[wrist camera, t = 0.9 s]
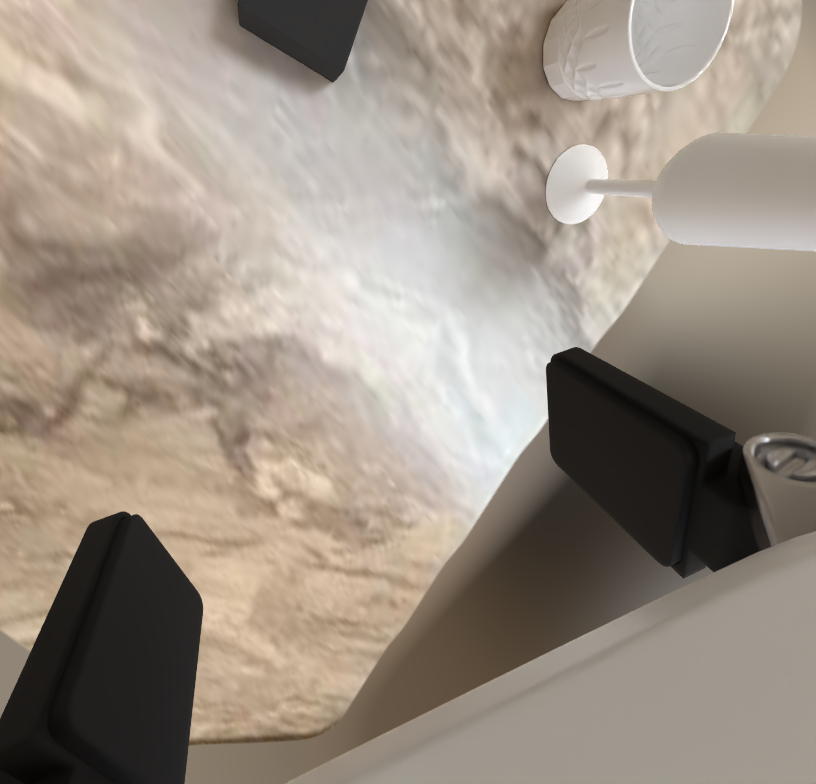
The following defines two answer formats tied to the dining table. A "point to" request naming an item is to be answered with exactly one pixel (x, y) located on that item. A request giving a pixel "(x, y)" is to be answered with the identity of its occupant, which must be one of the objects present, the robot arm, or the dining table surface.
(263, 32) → the black pad
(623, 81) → the white cup
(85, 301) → the dining table surface
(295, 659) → the dining table surface
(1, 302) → the dining table surface
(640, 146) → the dining table surface
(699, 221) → the champagne flute
